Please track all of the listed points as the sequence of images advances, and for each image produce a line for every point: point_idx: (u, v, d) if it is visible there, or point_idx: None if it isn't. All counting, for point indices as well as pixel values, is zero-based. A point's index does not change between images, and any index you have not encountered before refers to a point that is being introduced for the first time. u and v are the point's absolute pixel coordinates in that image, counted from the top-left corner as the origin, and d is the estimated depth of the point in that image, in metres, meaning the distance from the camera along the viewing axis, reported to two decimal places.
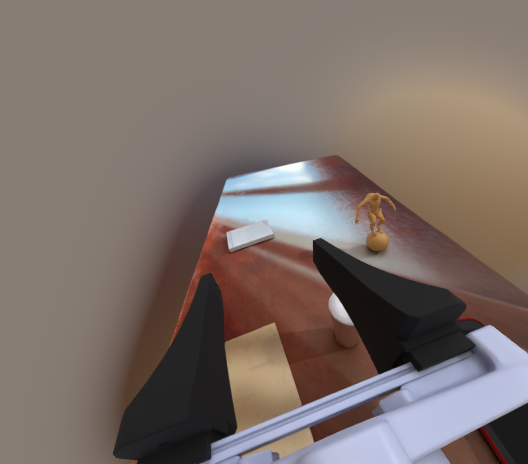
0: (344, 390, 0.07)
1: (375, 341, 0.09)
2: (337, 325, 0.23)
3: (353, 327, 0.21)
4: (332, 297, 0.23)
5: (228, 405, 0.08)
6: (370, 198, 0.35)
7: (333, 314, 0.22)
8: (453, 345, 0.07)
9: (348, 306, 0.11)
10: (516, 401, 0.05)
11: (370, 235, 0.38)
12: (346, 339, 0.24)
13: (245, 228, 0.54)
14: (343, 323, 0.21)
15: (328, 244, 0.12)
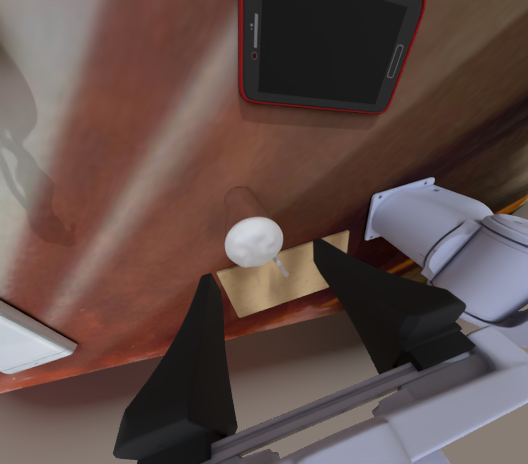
0: (344, 390, 0.07)
1: (375, 341, 0.09)
2: None
3: None
4: (243, 266, 0.14)
5: (228, 405, 0.08)
6: None
7: None
8: (453, 345, 0.07)
9: (348, 306, 0.11)
10: (516, 401, 0.05)
11: None
12: None
13: None
14: None
15: (328, 244, 0.12)
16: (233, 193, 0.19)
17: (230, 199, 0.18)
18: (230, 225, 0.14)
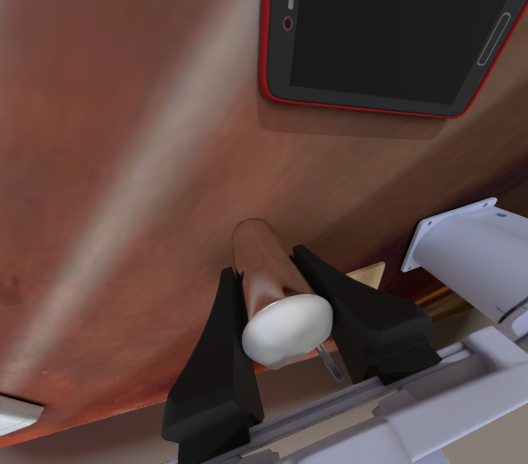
0: (344, 390, 0.07)
1: (348, 352, 0.09)
2: None
3: None
4: None
5: (256, 394, 0.09)
6: None
7: None
8: (420, 359, 0.07)
9: None
10: (516, 401, 0.05)
11: None
12: None
13: None
14: None
15: (307, 251, 0.11)
16: (245, 231, 0.13)
17: (242, 242, 0.12)
18: (250, 306, 0.08)
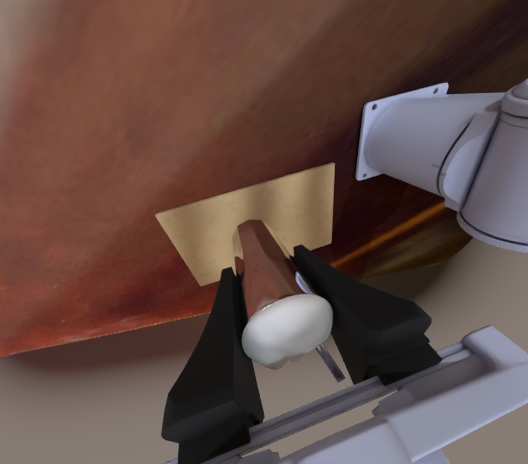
0: (344, 390, 0.07)
1: (348, 352, 0.09)
2: None
3: None
4: None
5: (256, 394, 0.09)
6: None
7: None
8: (420, 359, 0.07)
9: None
10: (516, 401, 0.05)
11: None
12: None
13: None
14: None
15: (307, 251, 0.11)
16: (245, 231, 0.13)
17: (242, 242, 0.12)
18: (250, 306, 0.08)
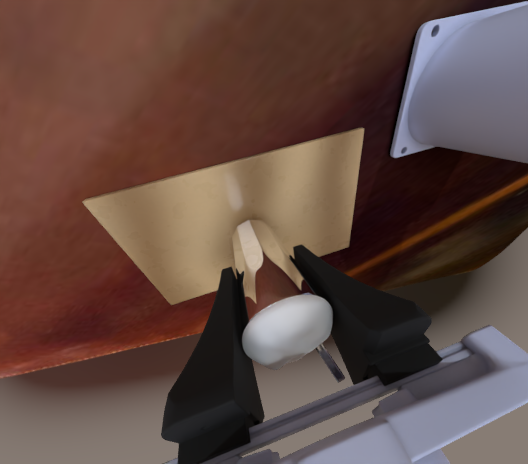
0: (344, 390, 0.07)
1: (348, 352, 0.09)
2: None
3: None
4: None
5: (256, 394, 0.09)
6: None
7: None
8: (420, 359, 0.07)
9: None
10: (516, 401, 0.05)
11: None
12: None
13: None
14: None
15: (307, 251, 0.11)
16: (245, 231, 0.13)
17: (242, 243, 0.12)
18: (250, 306, 0.08)
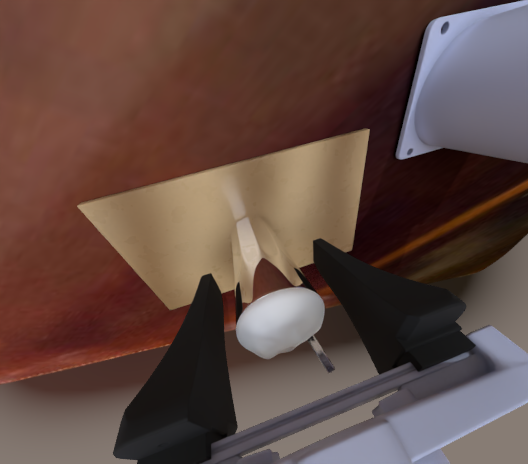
0: (344, 390, 0.07)
1: (375, 341, 0.09)
2: None
3: None
4: None
5: (228, 405, 0.08)
6: None
7: None
8: (453, 345, 0.07)
9: (348, 306, 0.11)
10: (516, 401, 0.05)
11: None
12: None
13: None
14: None
15: (328, 244, 0.12)
16: (243, 228, 0.14)
17: (240, 238, 0.13)
18: (244, 298, 0.09)
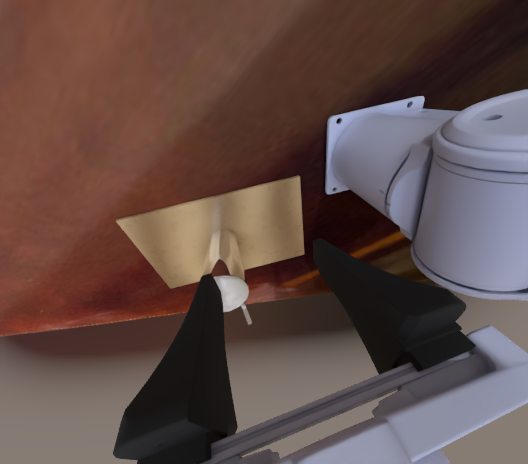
0: (344, 390, 0.07)
1: (375, 341, 0.09)
2: None
3: None
4: None
5: (228, 405, 0.08)
6: None
7: None
8: (453, 345, 0.07)
9: (348, 306, 0.11)
10: (516, 401, 0.05)
11: None
12: None
13: None
14: None
15: (328, 244, 0.12)
16: (215, 237, 0.21)
17: (211, 244, 0.20)
18: None
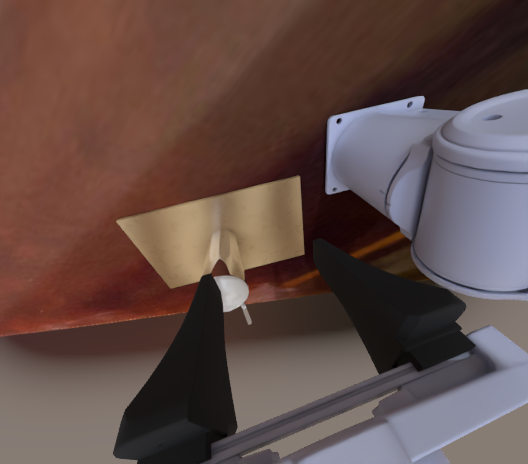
0: (344, 390, 0.07)
1: (375, 341, 0.09)
2: None
3: None
4: None
5: (228, 405, 0.08)
6: None
7: None
8: (453, 345, 0.07)
9: (348, 306, 0.11)
10: (516, 401, 0.05)
11: None
12: None
13: None
14: None
15: (328, 244, 0.12)
16: (215, 237, 0.21)
17: (211, 244, 0.20)
18: None
